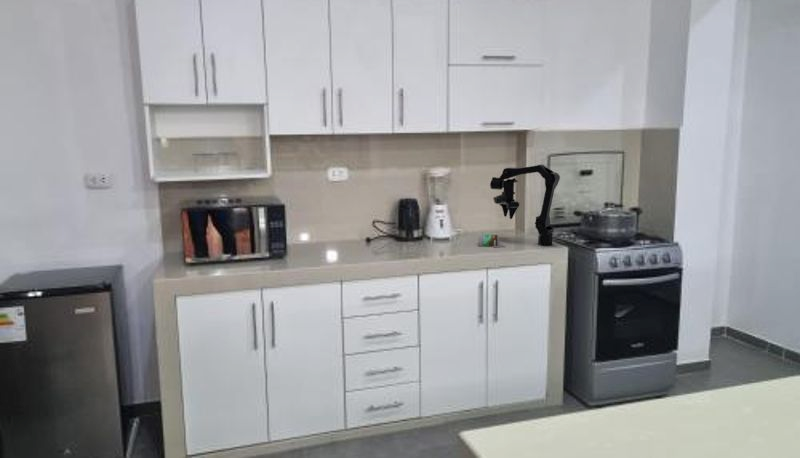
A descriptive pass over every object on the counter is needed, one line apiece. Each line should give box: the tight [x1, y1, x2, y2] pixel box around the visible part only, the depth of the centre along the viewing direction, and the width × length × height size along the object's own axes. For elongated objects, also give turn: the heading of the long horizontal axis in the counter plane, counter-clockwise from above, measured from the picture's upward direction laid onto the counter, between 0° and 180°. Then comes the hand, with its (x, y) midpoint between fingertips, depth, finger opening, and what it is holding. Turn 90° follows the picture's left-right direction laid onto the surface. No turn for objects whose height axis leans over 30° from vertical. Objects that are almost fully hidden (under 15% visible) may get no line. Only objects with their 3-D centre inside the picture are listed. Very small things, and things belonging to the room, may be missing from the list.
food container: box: [477, 232, 499, 248], centre depth 322 cm, size 12×6×10 cm
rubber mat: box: [491, 241, 506, 249], centre depth 321 cm, size 6×12×1 cm, turn 9°
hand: (508, 217), depth 333 cm, fingers open, 9 cm apart
